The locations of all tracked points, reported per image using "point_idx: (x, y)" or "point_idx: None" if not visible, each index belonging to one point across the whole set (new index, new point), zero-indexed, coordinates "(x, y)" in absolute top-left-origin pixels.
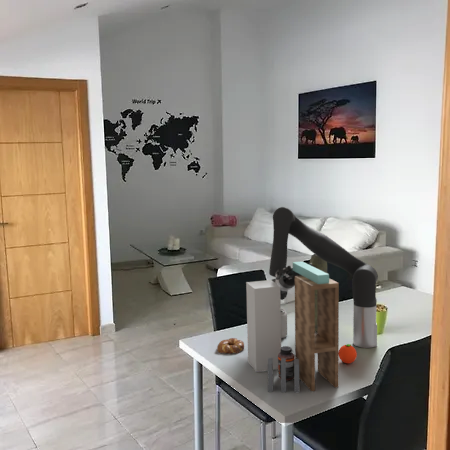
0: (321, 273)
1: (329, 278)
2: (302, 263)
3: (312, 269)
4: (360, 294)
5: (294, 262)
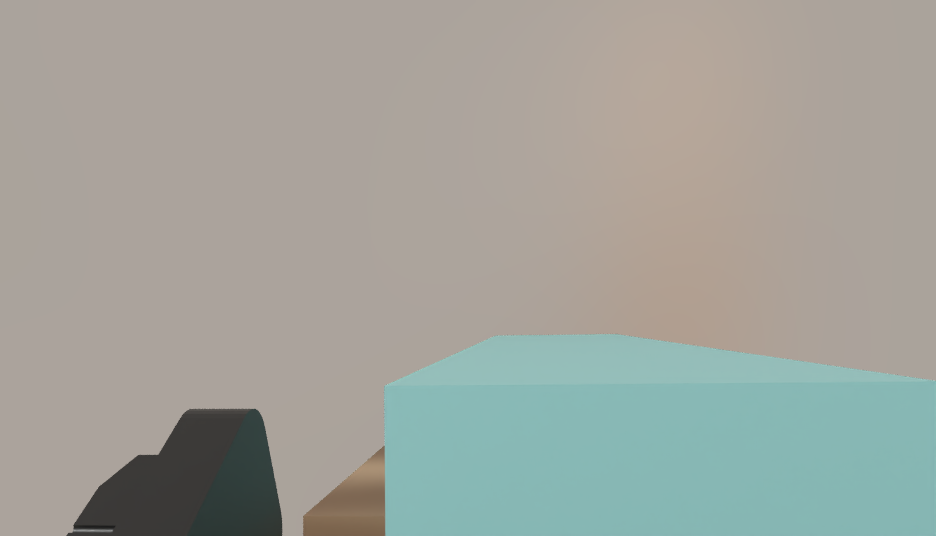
0: (550, 336)
1: (379, 452)
2: (556, 362)
3: (570, 341)
4: None
5: (831, 377)
